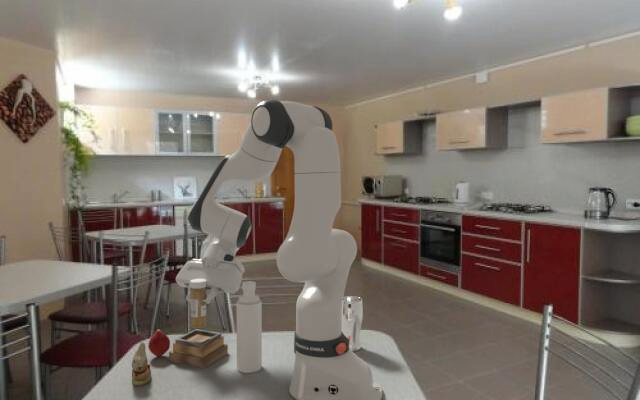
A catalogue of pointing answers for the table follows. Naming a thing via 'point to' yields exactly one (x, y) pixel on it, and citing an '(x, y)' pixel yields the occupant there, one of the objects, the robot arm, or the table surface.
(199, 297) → the sprinkles bottle
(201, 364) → the brown wooden square tray
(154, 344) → the onion
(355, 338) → the beer glass
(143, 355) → the chocolate bunny
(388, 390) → the table surface
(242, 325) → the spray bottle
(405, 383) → the table surface
